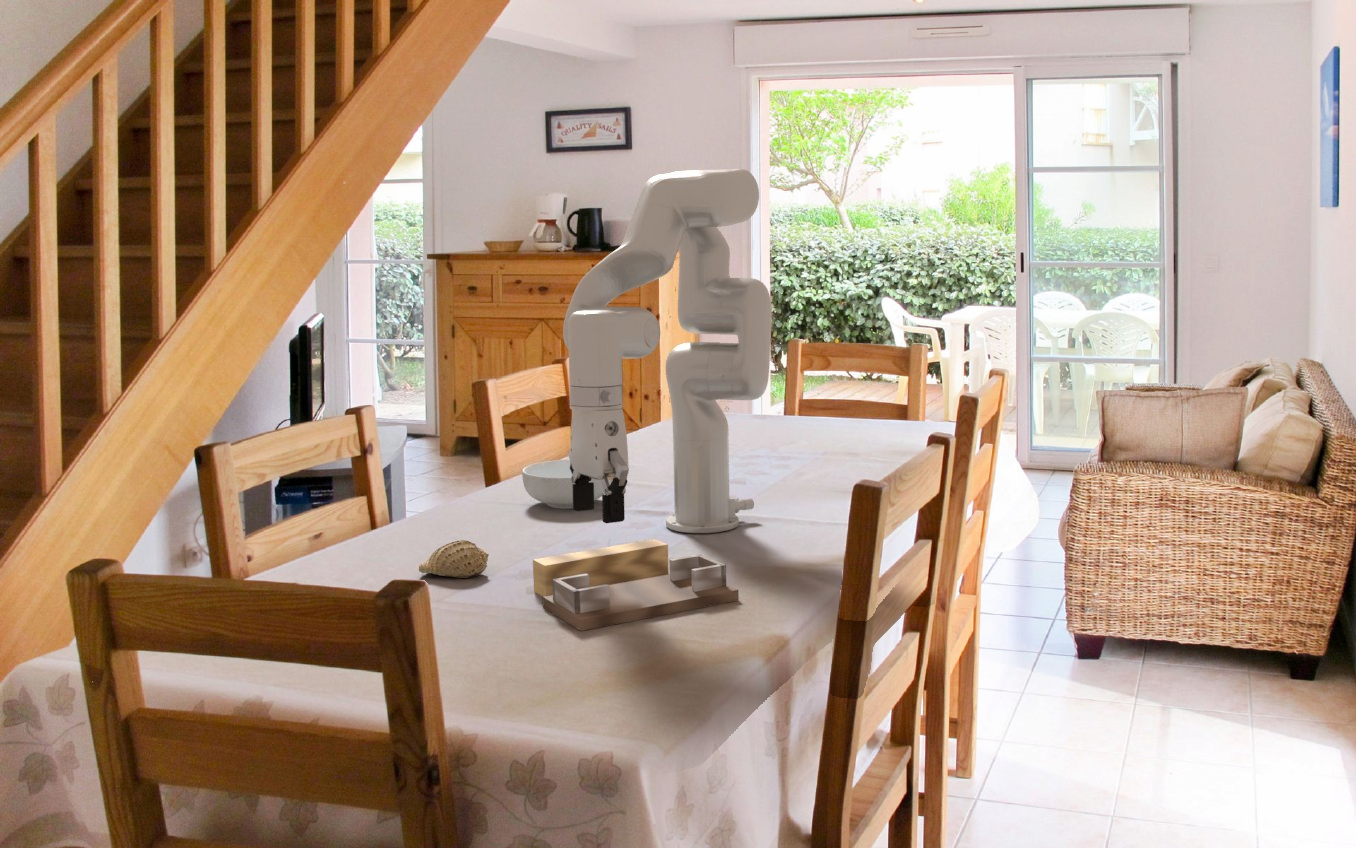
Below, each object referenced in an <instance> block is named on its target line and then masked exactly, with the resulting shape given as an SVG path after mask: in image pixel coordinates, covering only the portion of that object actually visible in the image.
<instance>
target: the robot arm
mask: <svg viewBox="0 0 1356 848" xmlns="http://www.w3.org/2000/svg"><path fill="white" fill-rule="evenodd" d="M759 189H760V188H759V185H758V182H757V180H756V178H755V176H754V175H753V174H752V173H751V172H750V171H749V170H747V169H746V168H745V169H744V168H726V169H725V168H722V169H697V170H696V169H689V170H679V171H678V170H677V171H673V172H669V173H664V174H663V173H662V174H657V175H654V176H653V177H651V178H649V179H648V180H647V181H646V182H645V183H644V185H643V187H642V189H641V191H640V193H639V197H638V199H637V202H636V204H635V207H634V210H633V213H632V214H631V218H630V221H629V223H628V226H627V228H626V232H625V234H624V237H623V239H622V242H621V244H620V246H619V247H618V248H615V250H614V251H612V252H611V253H609V254H608V255H606V256H605V257H604V258H603V259H602V260H600V261H599V262H598V263H597V264H596V265H594V266H593V267H592V268H591V269H589V271H588V272H587V273H585V275H584V276H583V277H582V278H581V279H580V281H579V282H578V284H577V286H576V288H575V290H574V292H573V294H572V297H571V300H570V302H569V304H568V306H567V307H568V308H567V309H566V310H567V311H566V313H565V316H564V321H563V327H562V328H563V329H562V337H563V342H564V345H565V346H566V348H567V349H568V377H569V379H568V380H569V381H568V382H569V409H570V410H572V412H571V421H570V425H571V427H570V449H569V450H568V455H567V456H568V459H569V460H570V464H571V465H570V470H571V472H572V477H571V481H572V483H573V508H572V510H573V511H575V512H583V511H592V510H594V509H595V500H594V483H593V482H591V479H592V478H594V479H597V480H600V481H601V483H602V486H603V489H604V492H605V494H604V495H602V496H601V506H602V509H601V511H602V513H601V514H602V522H603V523H604V524H612V523H619V522H623V521H625V518H626V517H625V494H626V492H627V489H626V486H627V485H628V475H629V471H630V470H629V469H630V468H629V467H630V466H629V451H628V448H629V447H628V438H627V435H628V434H627V428H626V427H627V426H626V420H625V415H624V414H625V413H624V411H623V408H624V405H623V404H624V402H623V395H624V394H623V359H633V360H634V359H641V358H645V357H647V356H648V355H651V354H652V353H653V352H654V351H655V350H656V349H657V347H658V345H659V342H660V338H661V326H660V322H659V321H658V319H657V317H656V316H655V315H654V314H653V313H652V312H651V311H650V310H648V309H646V308H643V307H637V306H608V304H610V303H611V302H612V301H613V300H615V299H616V298H617V297H619V296H621V295H623V294H625V293H627V292H629V291H631V290H634V289H637V288H639V287H642V286H644V285H647V284H649V283H652V282H654V281H656V280H658V279H660V278H663V277H664V276H666V275H667V274H668V273H670V271H671V270H672V269H673V266H674V263H675V261H676V258H677V254H679V262H678V263H679V266H678V267H679V268H678V283H677V284H678V289H677V318H678V322H679V325H680V327H681V328H682V329H683V330H684V331H686V332H688V333H691V334H697V335H724V336H725V335H727V336H729V335H730V336H737V340H738V341H737V342H714V341H709V342H708V341H707V342H706V341H705V342H704V341H693V342H692V341H691V342H685V343H682V344H678V345H677V346H675V347H673V349H671V350H670V352H669V353H668V355H667V358H666V359H665V376H666V377H665V378H666V381H667V386H668V387H667V388H668V391H669V397H670V398H669V399H670V405H671V416H672V450H673V451H672V453H673V455H672V456H673V497H674V498H673V499H674V507H673V508H674V514H672V515H669V516H668V517H666V519H665V526H666V527H667V528H668V529H669V530H672V531H675V532H679V533H689V534H711V533H712V534H713V533H714V534H715V533H722V532H726V531H730V530H734V529H735V528H737V527H738V526H739V524H740V519H739V517H738V516H737V515H736V514H738V513H739V512H740V511H747V510H748V511H749V510H753V509H754V507H755V502H754V500H753V498H751V497H750V498H749V497H748V498H743V499H739V498H738V497H737V498H734V497H731V496H730V458H729V457H730V452H729V451H730V448H729V446H730V444H729V436H730V434H729V433H730V432H729V429H730V428H729V424H728V423H729V421H728V419H727V417H726V414H725V413H724V411H723V409H722V407H721V406H720V405H719V404H718V402H717V400H729V401H754V400H757V399H759V398H761V397H762V396H763V395H764V393H765V392H766V391H767V387H768V383H769V377H770V363H771V362H770V360H771V359H770V358H771V357H770V355H771V338H772V336H771V335H772V319H773V318H772V299H771V296H770V291H769V290H768V288H767V286H766V285H765V284H764V282H763V281H761V280H759V279H756V278H752V277H730V262H731V261H730V260H731V258H730V257H731V256H730V254H731V253H730V247H729V246H730V245H729V243H728V242H727V240H726V238H725V236H724V235H723V233H722V232H721V230H719V228H721V227H727V226H728V227H729V226H734V225H736V224H741V223H745V222H746V221H748V220H750V219H751V218H752V217H753V215H754V214H755V213H756V211H757V208H758V206H759V201H760V200H759V199H760V190H759ZM718 227H719V228H718ZM678 252H679V253H678ZM608 480H612V482H611V484H609V481H608ZM575 483H576V484H575Z"/></svg>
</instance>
